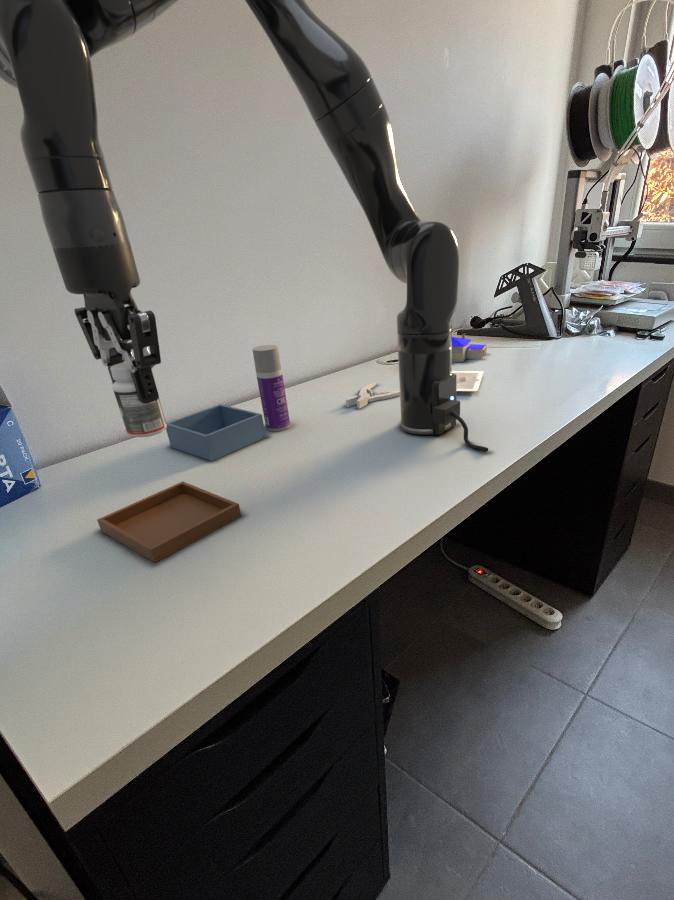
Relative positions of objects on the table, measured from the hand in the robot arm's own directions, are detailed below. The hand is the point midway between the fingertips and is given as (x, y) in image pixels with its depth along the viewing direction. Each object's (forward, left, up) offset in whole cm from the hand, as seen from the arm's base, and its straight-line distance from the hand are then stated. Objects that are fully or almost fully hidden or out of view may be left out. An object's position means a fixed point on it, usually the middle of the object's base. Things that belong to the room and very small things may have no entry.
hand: (137, 397), depth 64 cm
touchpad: (-4, -71, -17) cm, 73 cm away
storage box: (+18, -21, -17) cm, 33 cm away
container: (+14, -32, -17) cm, 39 cm away
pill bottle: (0, 0, -5) cm, 5 cm away
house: (+11, -91, -17) cm, 93 cm away
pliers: (+9, -55, -17) cm, 58 cm away
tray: (-1, +1, -17) cm, 17 cm away
